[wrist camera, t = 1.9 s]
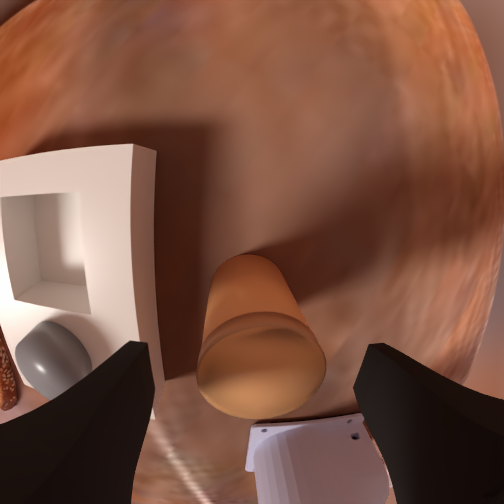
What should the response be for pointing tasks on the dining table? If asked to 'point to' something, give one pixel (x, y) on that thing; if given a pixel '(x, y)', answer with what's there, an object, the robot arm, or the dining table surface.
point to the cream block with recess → (78, 262)
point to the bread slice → (6, 381)
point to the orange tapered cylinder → (256, 343)
